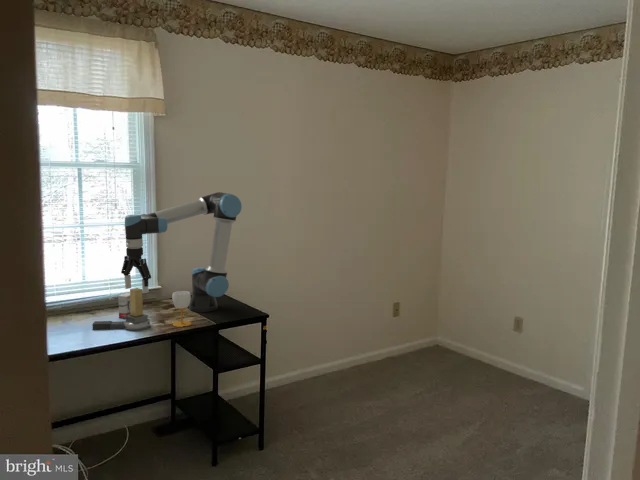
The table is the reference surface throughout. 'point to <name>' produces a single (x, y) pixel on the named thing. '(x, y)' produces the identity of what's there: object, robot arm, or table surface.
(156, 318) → the table surface
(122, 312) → the ink box
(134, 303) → the gold square rod
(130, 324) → the ratchet
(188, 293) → the cup
